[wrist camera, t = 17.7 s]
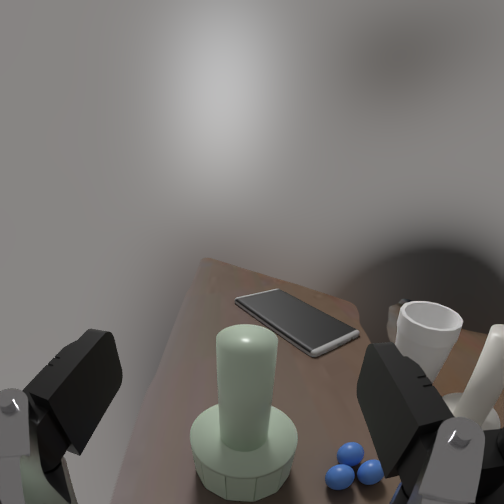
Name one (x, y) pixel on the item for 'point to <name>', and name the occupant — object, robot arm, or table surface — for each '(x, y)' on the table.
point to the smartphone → (297, 321)
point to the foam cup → (427, 334)
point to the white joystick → (483, 384)
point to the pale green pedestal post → (244, 421)
